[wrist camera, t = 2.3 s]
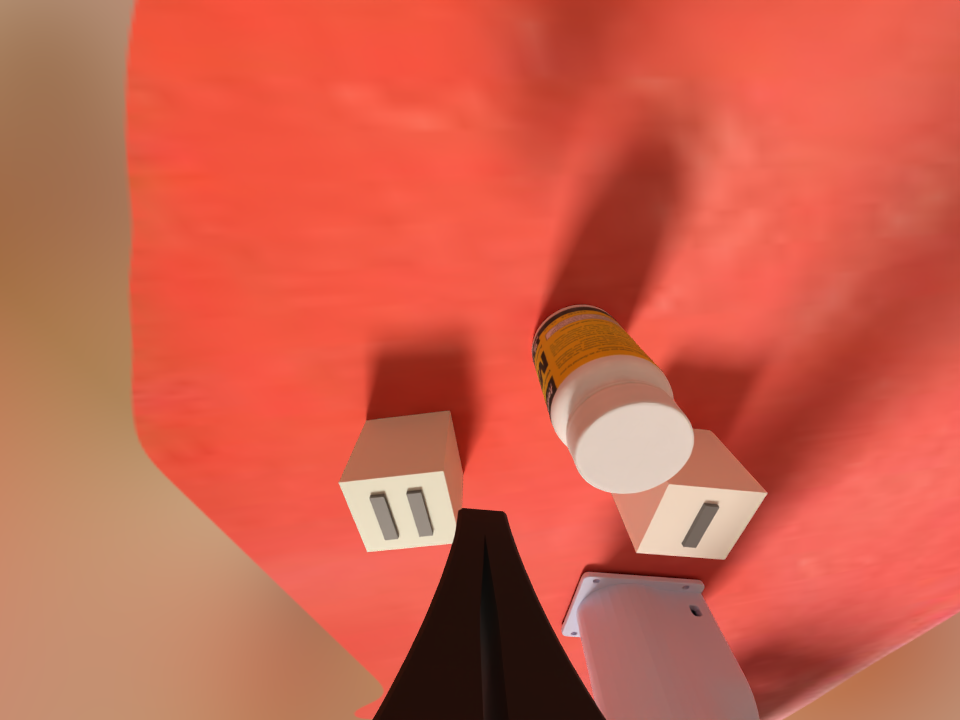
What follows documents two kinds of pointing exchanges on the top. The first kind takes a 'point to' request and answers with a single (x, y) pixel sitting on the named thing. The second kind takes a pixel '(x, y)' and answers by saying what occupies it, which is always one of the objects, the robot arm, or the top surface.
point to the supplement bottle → (609, 402)
